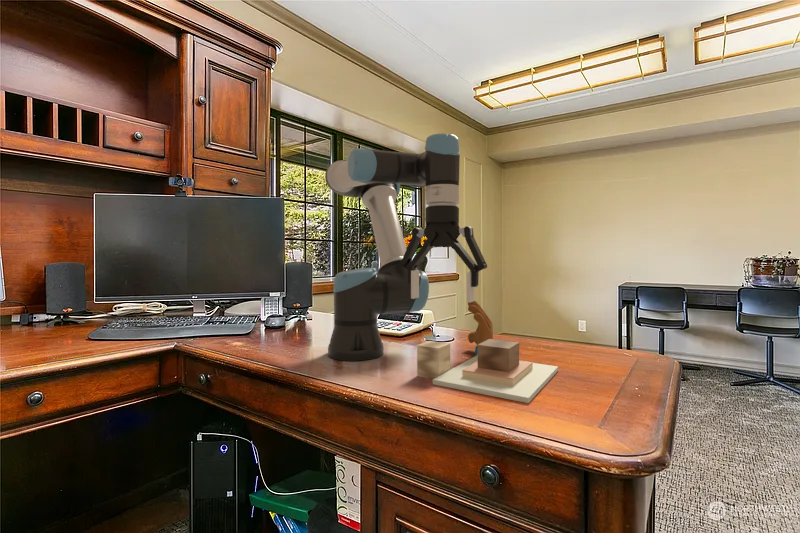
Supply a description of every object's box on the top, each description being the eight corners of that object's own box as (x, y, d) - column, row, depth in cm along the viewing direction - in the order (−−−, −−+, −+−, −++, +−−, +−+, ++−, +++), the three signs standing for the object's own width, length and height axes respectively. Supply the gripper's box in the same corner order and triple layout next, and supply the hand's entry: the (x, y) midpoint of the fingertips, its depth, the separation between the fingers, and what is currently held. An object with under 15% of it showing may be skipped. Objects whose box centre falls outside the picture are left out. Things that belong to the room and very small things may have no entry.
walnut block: (477, 367, 88) (477, 344, 88) (489, 360, 94) (489, 338, 94) (508, 372, 85) (509, 348, 84) (519, 364, 90) (519, 342, 90)
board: (432, 384, 85) (432, 372, 85) (477, 358, 105) (477, 349, 105) (528, 403, 74) (528, 389, 74) (558, 370, 94) (558, 360, 94)
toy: (467, 348, 116) (467, 296, 116) (492, 349, 115) (492, 296, 115) (467, 359, 104) (467, 301, 104) (495, 360, 103) (495, 302, 103)
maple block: (417, 376, 91) (417, 345, 91) (429, 370, 96) (429, 340, 95) (438, 380, 88) (438, 348, 88) (450, 373, 92) (450, 343, 92)
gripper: (385, 207, 94) (386, 298, 95) (492, 201, 81) (491, 305, 83) (401, 209, 100) (401, 294, 101) (501, 204, 88) (500, 301, 89)
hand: (441, 300), depth 92 cm, fingers open, 13 cm apart
